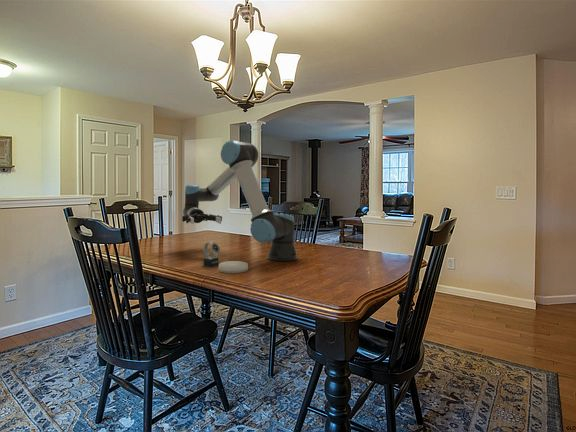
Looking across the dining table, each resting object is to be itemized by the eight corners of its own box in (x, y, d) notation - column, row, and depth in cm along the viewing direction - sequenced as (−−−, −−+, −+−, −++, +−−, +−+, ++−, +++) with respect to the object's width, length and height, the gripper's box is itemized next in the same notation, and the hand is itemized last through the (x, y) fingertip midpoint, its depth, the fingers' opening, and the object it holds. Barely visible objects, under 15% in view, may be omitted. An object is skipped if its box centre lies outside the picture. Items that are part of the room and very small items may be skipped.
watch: (213, 267, 167) (213, 243, 166) (200, 265, 171) (200, 242, 170) (221, 265, 172) (221, 242, 171) (209, 263, 176) (209, 240, 175)
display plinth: (246, 266, 171) (246, 260, 171) (248, 272, 158) (248, 267, 158) (218, 266, 169) (218, 261, 169) (218, 273, 156) (218, 267, 156)
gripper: (218, 222, 202) (231, 228, 184) (171, 222, 190) (180, 229, 172) (218, 208, 201) (231, 213, 183) (172, 208, 189) (181, 213, 171)
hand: (207, 221), depth 177 cm, fingers open, 13 cm apart
